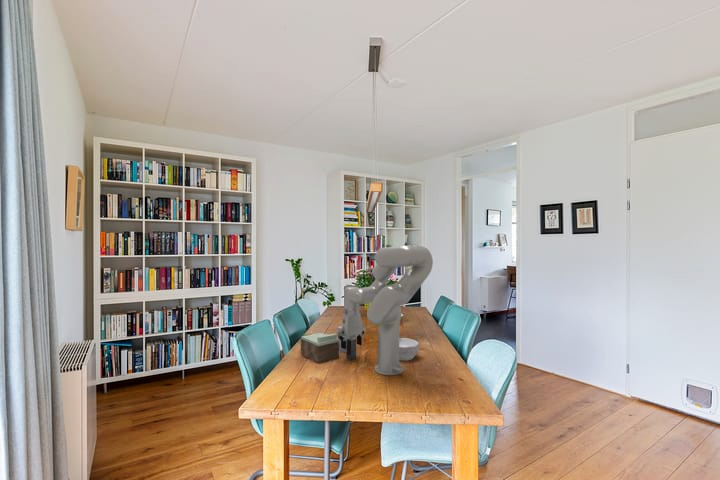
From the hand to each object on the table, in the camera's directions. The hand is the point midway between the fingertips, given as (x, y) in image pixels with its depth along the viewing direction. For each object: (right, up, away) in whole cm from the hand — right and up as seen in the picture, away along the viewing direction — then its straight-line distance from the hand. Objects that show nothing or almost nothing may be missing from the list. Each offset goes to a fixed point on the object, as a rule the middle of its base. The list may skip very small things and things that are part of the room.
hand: (351, 346), depth 172 cm
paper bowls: (+26, -7, +3) cm, 27 cm away
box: (-18, -6, +6) cm, 20 cm away
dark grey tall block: (0, -6, 0) cm, 6 cm away
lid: (-16, +2, +4) cm, 17 cm away
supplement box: (-3, -7, +15) cm, 16 cm away
